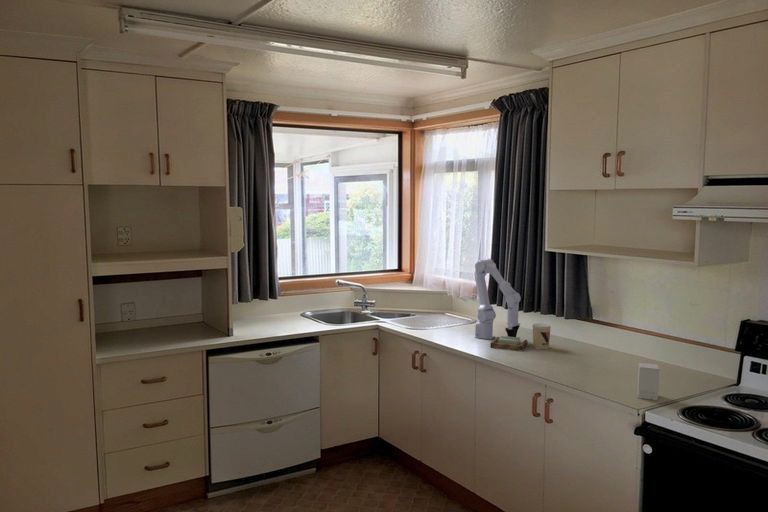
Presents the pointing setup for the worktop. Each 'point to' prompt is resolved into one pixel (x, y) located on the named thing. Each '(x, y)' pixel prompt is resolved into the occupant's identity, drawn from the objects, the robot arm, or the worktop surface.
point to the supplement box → (648, 381)
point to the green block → (509, 340)
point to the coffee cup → (541, 335)
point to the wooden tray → (507, 345)
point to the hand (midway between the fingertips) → (512, 339)
